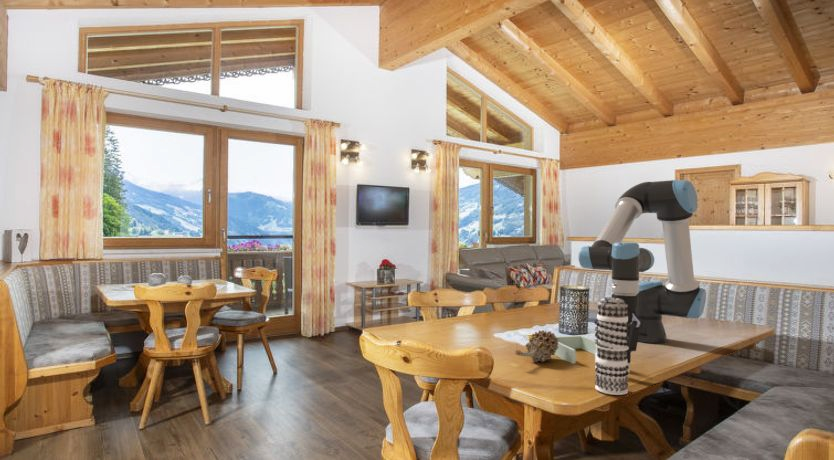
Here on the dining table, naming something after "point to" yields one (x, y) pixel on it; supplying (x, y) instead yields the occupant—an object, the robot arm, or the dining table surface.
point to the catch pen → (573, 346)
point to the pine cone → (540, 346)
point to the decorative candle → (612, 346)
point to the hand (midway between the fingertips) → (624, 372)
